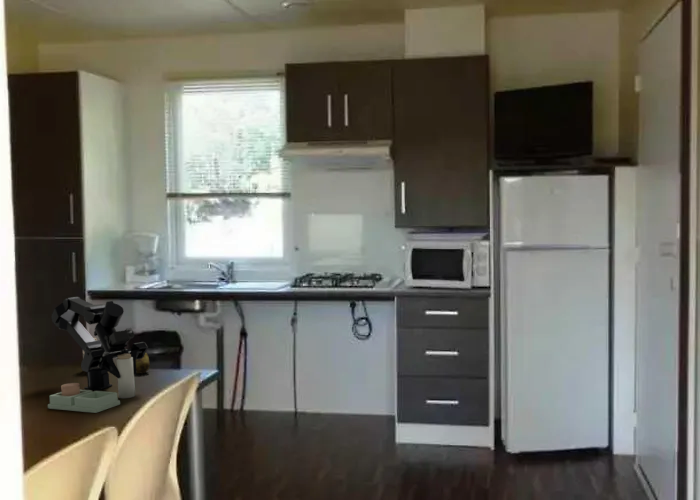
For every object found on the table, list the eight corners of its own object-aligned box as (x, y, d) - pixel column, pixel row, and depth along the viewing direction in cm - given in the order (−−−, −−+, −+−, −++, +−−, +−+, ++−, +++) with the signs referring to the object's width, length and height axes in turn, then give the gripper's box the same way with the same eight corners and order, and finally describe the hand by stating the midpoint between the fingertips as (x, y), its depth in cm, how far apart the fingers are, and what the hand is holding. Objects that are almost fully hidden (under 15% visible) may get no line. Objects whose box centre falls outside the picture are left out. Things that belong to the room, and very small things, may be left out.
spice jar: (115, 397, 252) (112, 356, 251) (126, 393, 257) (123, 353, 256) (127, 398, 250) (124, 356, 249) (138, 394, 254) (135, 353, 254)
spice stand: (48, 408, 243) (46, 387, 243) (73, 400, 252) (71, 380, 252) (95, 412, 235) (94, 391, 234) (120, 404, 243) (118, 383, 243)
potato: (125, 376, 284) (123, 353, 283) (128, 369, 296) (126, 347, 296) (149, 374, 285) (148, 351, 285) (151, 367, 298) (150, 345, 298)
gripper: (87, 325, 248) (106, 365, 241) (143, 316, 261) (162, 354, 253) (78, 348, 255) (96, 387, 247) (133, 338, 267) (151, 376, 260)
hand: (127, 375), depth 252 cm, fingers closed on spice jar, 5 cm apart
